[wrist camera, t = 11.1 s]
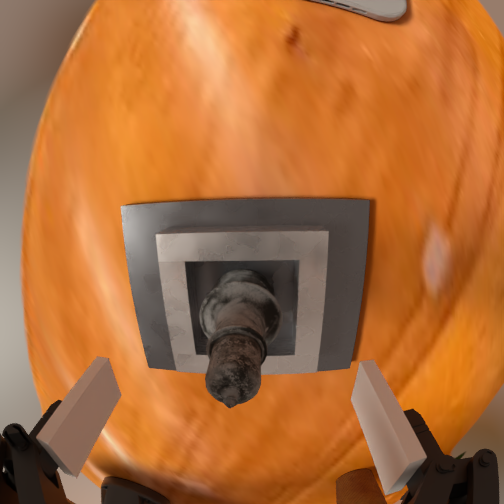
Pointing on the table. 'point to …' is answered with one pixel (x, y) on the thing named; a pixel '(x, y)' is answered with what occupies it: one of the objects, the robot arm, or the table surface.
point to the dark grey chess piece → (238, 333)
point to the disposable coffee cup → (358, 488)
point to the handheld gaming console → (372, 8)
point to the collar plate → (253, 258)
